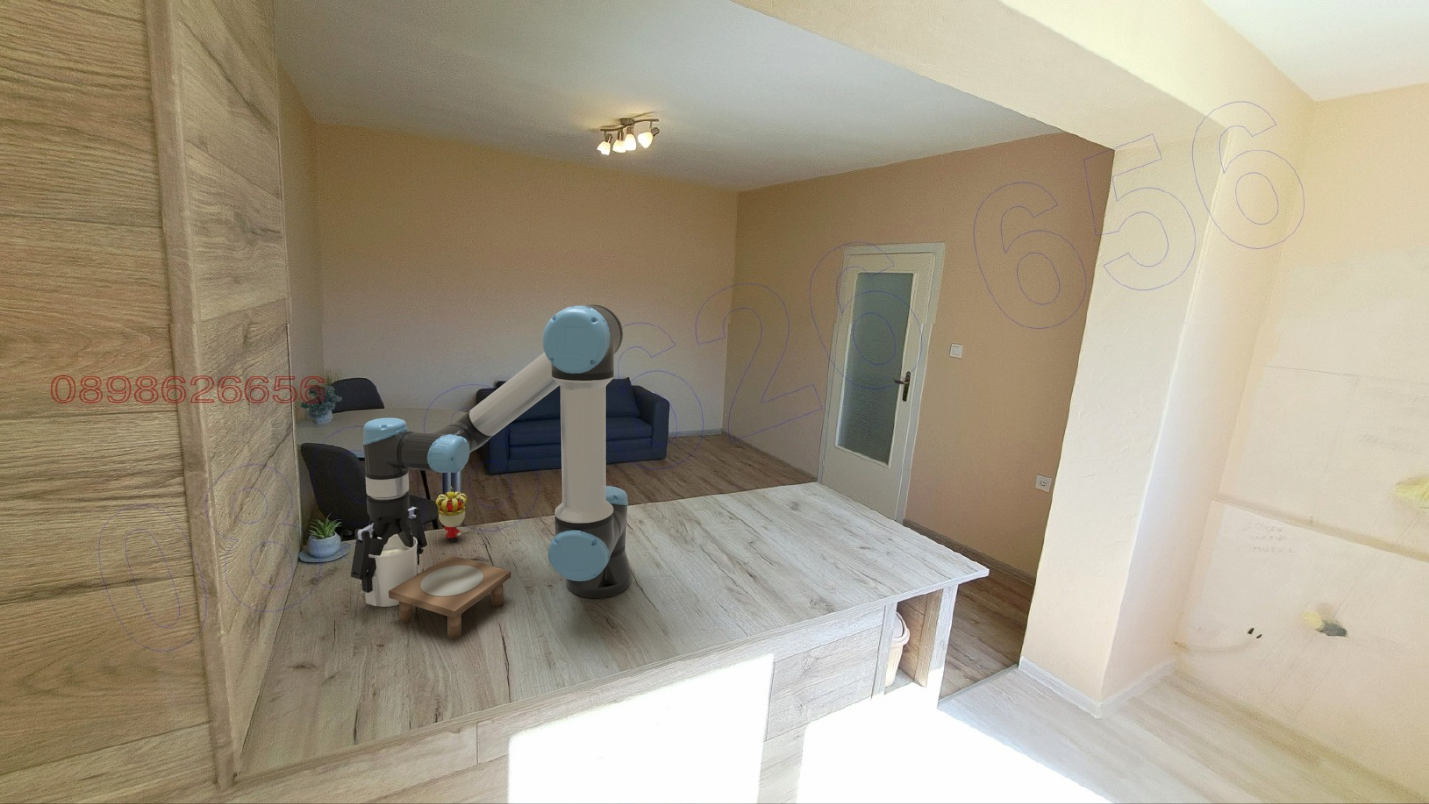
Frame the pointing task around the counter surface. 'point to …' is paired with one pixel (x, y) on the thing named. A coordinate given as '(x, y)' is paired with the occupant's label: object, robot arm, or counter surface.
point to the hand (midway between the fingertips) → (393, 591)
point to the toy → (451, 513)
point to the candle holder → (394, 567)
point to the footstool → (450, 590)
